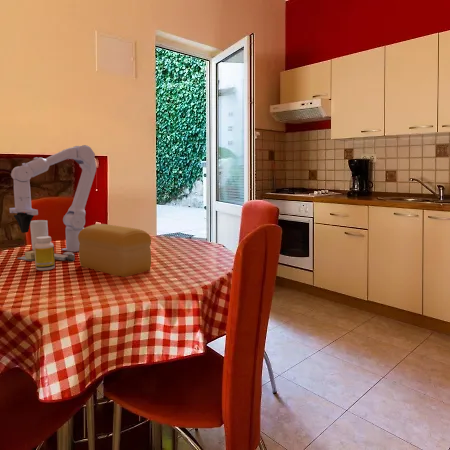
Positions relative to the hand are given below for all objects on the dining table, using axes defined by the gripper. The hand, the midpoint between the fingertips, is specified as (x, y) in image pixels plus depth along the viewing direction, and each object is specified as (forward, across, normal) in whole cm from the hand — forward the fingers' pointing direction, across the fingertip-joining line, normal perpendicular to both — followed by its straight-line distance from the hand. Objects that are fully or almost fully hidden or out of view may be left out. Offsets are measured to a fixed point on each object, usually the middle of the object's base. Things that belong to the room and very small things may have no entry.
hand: (24, 232), depth 155 cm
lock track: (+9, +6, -3) cm, 11 cm away
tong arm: (+9, +14, +2) cm, 17 cm away
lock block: (+9, +8, -3) cm, 13 cm away
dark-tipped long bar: (+9, +14, +4) cm, 17 cm away
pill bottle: (+10, +23, -9) cm, 27 cm away
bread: (+10, +43, +4) cm, 44 cm away
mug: (+10, -8, +13) cm, 18 cm away
